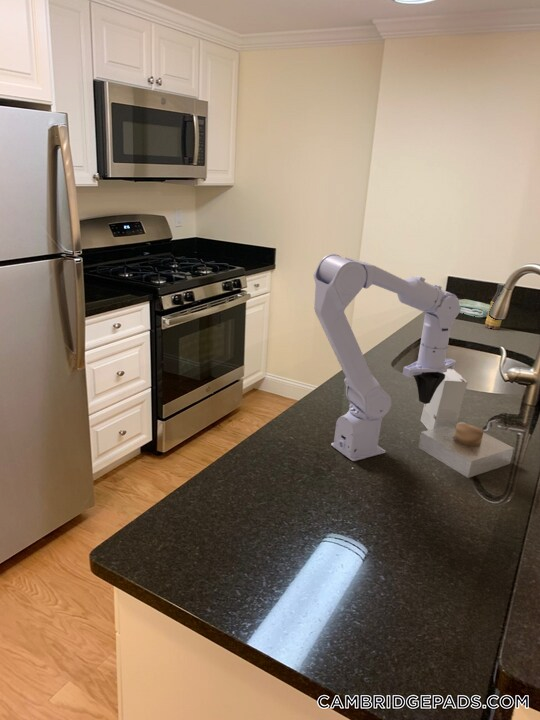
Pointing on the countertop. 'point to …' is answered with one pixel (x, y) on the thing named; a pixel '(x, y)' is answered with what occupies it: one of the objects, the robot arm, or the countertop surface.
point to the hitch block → (465, 451)
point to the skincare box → (445, 402)
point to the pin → (468, 435)
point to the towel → (474, 308)
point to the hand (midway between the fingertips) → (424, 401)
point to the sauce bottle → (489, 321)
